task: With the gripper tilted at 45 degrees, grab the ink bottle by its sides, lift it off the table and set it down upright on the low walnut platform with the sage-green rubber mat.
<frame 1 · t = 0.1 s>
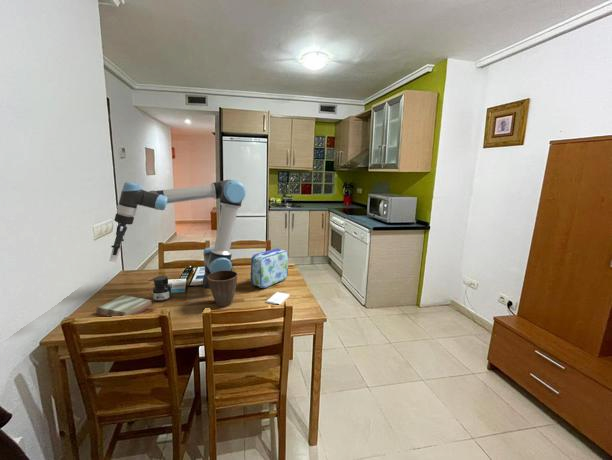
hand: (114, 257, 136), 28 cm above the table, tool tilted 20°, fingers open, 13 cm apart
mat platform: (125, 309, 143), on the table
external hard drive: (278, 300, 157), on the table
ink bottle: (162, 298, 156), on the table
plant pot: (224, 304, 151), on the table
lunch box: (270, 282, 180), on the table
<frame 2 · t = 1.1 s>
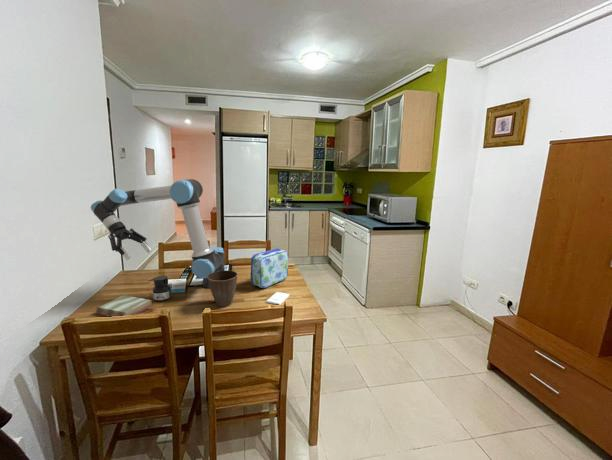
hand: (139, 254, 154), 24 cm above the table, tool tilted 45°, fingers open, 13 cm apart
nothing on the table moved.
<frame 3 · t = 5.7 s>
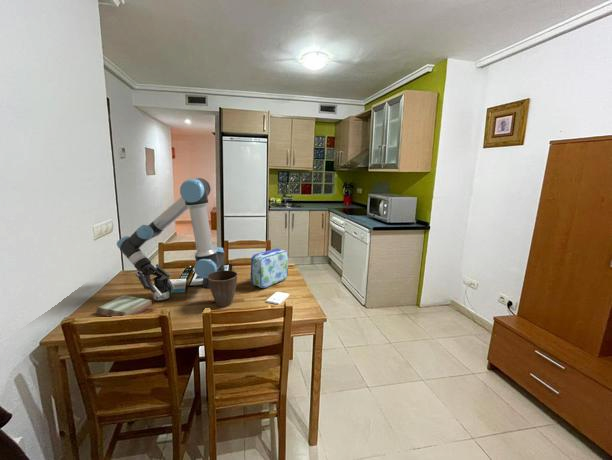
hand: (166, 292, 154), 4 cm above the table, tool tilted 45°, fingers closed on ink bottle, 9 cm apart
ink bottle: (162, 298, 156), on the table, touching gripper
everything else where it was.
when the fingers open (9 cm above the table, at t = 11.2 s): ink bottle drops 1 cm, resting on mat platform.
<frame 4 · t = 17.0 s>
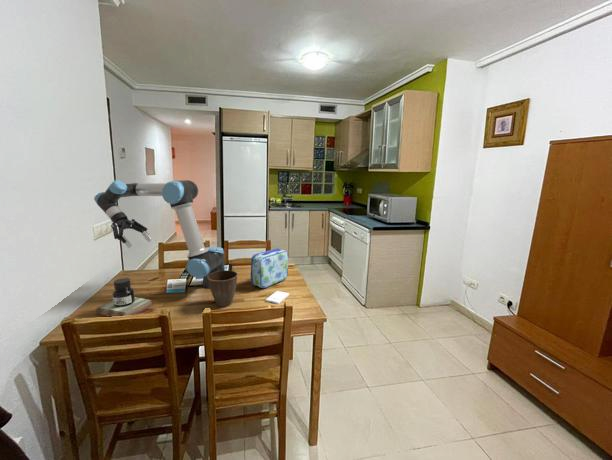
hand: (140, 243, 162), 28 cm above the table, tool tilted 45°, fingers open, 13 cm apart
ink bottle: (124, 303, 142), point 3 cm above the table, touching mat platform
at the end: ink bottle inside the target area on the mat platform (0.1 cm from its centre), point 3.3 cm above the mat platform's base; ink bottle tilted 0°; the gripper is holding nothing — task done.
